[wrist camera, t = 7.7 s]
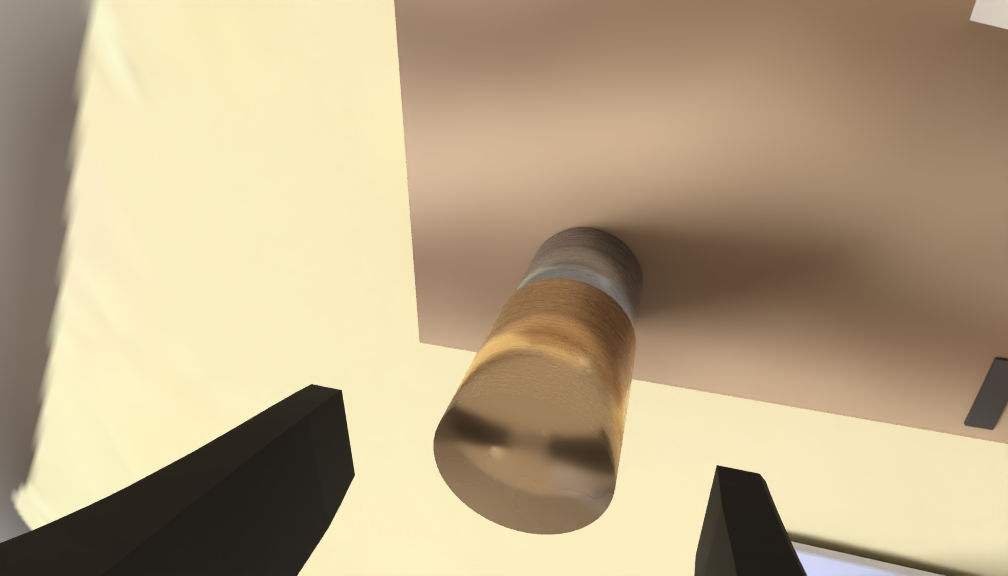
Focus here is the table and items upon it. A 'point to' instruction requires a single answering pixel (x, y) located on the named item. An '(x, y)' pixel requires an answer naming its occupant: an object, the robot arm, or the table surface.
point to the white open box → (991, 13)
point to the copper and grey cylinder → (548, 391)
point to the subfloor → (731, 188)
